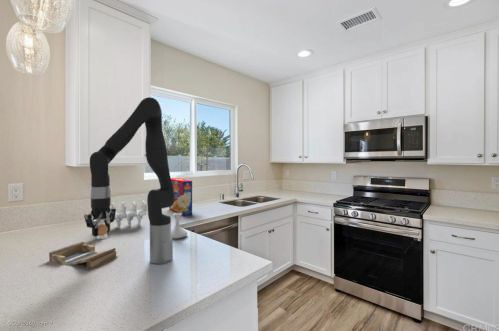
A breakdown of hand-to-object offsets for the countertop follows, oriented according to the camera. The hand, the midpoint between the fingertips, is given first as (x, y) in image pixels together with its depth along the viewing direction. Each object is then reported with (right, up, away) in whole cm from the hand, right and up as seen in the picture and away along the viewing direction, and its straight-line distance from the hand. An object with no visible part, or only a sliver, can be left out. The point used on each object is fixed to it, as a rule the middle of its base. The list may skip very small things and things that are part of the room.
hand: (101, 234), depth 109 cm
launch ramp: (-5, -13, +2) cm, 14 cm away
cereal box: (+7, -9, +100) cm, 100 cm away
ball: (0, +2, 0) cm, 2 cm away
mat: (-10, -13, +4) cm, 17 cm away
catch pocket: (-17, -12, +7) cm, 22 cm away
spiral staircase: (-16, -11, +54) cm, 57 cm away
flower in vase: (+24, -12, +37) cm, 46 cm away
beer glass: (-20, -12, +34) cm, 41 cm away
